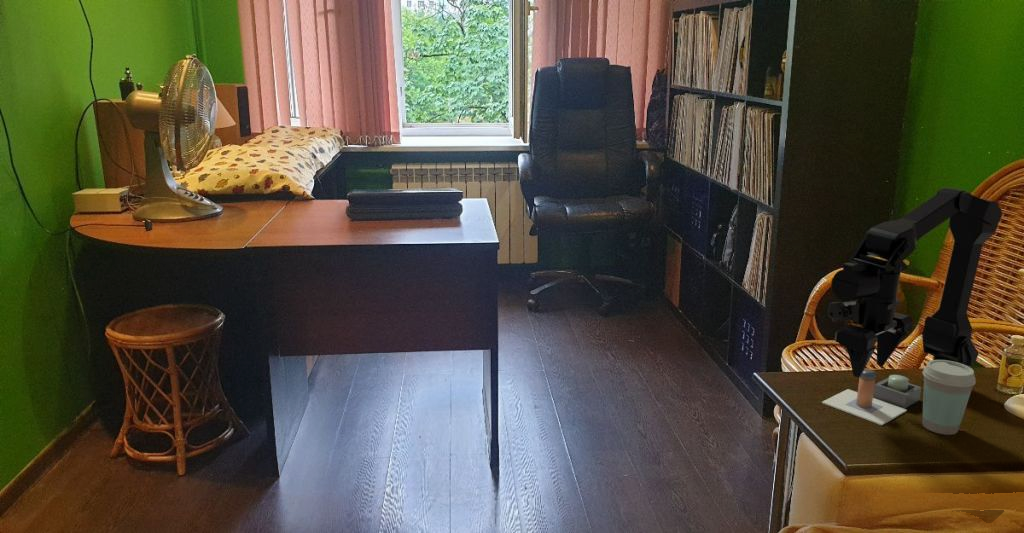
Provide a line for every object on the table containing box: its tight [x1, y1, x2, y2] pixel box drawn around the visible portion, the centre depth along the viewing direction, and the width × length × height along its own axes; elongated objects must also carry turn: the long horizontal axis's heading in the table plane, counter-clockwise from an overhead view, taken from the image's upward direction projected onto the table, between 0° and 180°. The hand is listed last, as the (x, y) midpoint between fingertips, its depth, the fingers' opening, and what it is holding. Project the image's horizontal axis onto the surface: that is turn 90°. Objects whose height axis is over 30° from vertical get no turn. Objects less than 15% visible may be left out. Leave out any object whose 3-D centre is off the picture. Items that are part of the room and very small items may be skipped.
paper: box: [821, 388, 908, 426], centre depth 151 cm, size 10×12×1 cm
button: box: [888, 374, 910, 393], centre depth 154 cm, size 4×4×2 cm
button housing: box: [873, 376, 922, 409], centre depth 154 cm, size 6×6×3 cm
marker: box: [856, 368, 878, 408], centre depth 150 cm, size 3×3×7 cm
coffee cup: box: [921, 359, 977, 436], centre depth 141 cm, size 8×8×12 cm
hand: (868, 371), depth 149 cm, fingers open, 9 cm apart
